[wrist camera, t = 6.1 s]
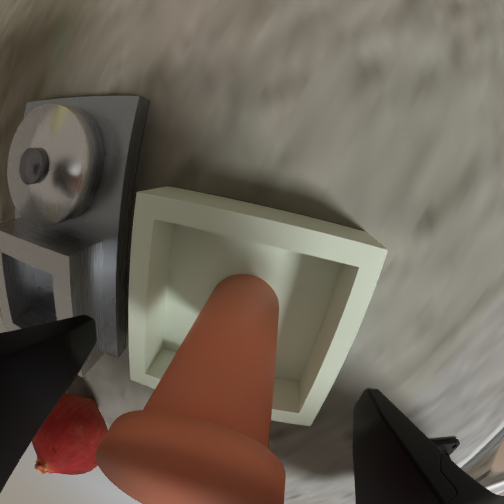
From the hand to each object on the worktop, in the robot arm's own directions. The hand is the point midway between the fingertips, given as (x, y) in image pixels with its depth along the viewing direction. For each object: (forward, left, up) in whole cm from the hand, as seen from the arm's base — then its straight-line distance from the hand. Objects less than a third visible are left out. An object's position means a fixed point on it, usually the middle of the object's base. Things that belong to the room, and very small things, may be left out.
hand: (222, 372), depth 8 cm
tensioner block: (+10, -2, -5) cm, 11 cm away
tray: (0, 0, -5) cm, 5 cm away
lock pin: (0, 0, -4) cm, 4 cm away
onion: (+9, +12, -5) cm, 16 cm away
